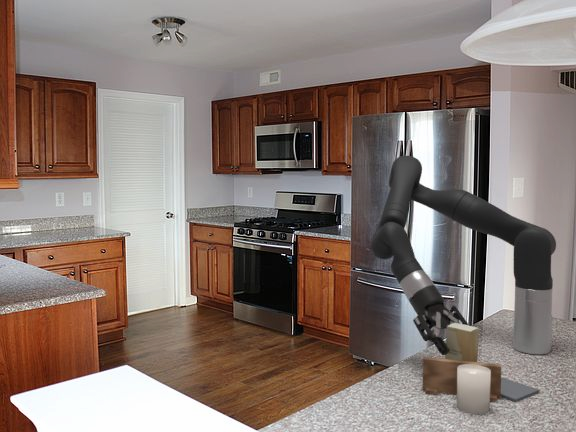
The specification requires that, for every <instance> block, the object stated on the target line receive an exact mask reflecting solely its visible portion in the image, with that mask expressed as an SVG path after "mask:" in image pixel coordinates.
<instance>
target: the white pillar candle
mask: <svg viewBox="0 0 576 432" xmlns="http://www.w3.org/2000/svg"><path fill="white" fill-rule="evenodd" d="M490 380H491V370H490V369H489V368H487V367H484V366H481V365H476V364H463V365H459V366H458V367H457V394H456V408H457V409H458V410H459V411H460V412H462V413H466V414H470V415H476V416H478V415H479V416H480V415H486V414H488V413H489V412H490V411H491V410H490V409H491V408H490V407H491V402H490Z"/></svg>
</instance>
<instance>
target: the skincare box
mask: <svg viewBox="0 0 576 432" xmlns="http://www.w3.org/2000/svg"><path fill="white" fill-rule="evenodd" d="M459 323H460V322H459ZM459 323H453V324H451V323H450V325H448V326H447V329H446V333H445V334H446V336H445V344H446V345H447V347H448V348H449V350H450V351H449V353H447V354H446V355H444V356H445V357H444V359H448V360H458V361H468V362H478V355H479V354H478V353H479V352H478V351H479V337H480V334H479V333H480V327H475V326H472V325H469V324H468V325H464V324H462V323H460V324H459Z"/></svg>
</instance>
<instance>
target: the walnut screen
mask: <svg viewBox="0 0 576 432" xmlns="http://www.w3.org/2000/svg"><path fill="white" fill-rule="evenodd" d="M463 364H476V365H481V366H484V367H487V368H489V369H490V370H491V380H490V403H491V402H492V403H498V400H501V398H502V397H501V378H502V365H501V364H498V363H497V364H495V363H486V362H478V361H477V362H468V361H458V360H448V359H445V358H436V357H426V356H423V358H422V391H424V392H425V395H432V396H433V395H434V396H438V393H443V394H450V395H457V367H458V366H459V365H463Z"/></svg>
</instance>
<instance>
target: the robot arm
mask: <svg viewBox="0 0 576 432" xmlns="http://www.w3.org/2000/svg"><path fill="white" fill-rule="evenodd" d="M422 173H423V164H422V163H421V162H420V160H419V159H418V158H417V157H415V156H412V155H401V156H398V157H396V158H395V159H394V160H393V163H392V165H391V169H390V174H389V179H388V186H389V192H388V195H387V198H386V201H385V204H384V207H383V210H382V213H381V216H380V217H381V218H380V222H379V224H378V226H377V228H376V230H375V231H374V234H373V235H372V237H371V242H370V248H371V251H372V254H373V255H374V256H376V258H377V259H380V260H389V259H391V258H392V261H391V265H390V271H391V272H392V274H393V276H394V278H395V279H396V281H397V282H398V284H399V286H400V288H401V289H402V292H403V294H404V296H405V297H406V298H407V301H408V303H410V305H411V307H412V308H413V311H414V312H415V313H416V314H417V315H416V316H415V317H414V319H412V323H414V325H415V328H416V329H417V330H418V332H419V335H420V336H421V338H422V341H425V342H427V341H430V342H431V343H433V344H434V346H435V348H436V350H437V351H438V352H439V353H440V354H441V355H442V356H445V355H446V354H447V353H449V351H450V350H449V348H448V347H447V345H446V341H444V339H443V338H442V336H441V333H440V330H445V329H446V330H447V326H448V325H450V324H453V323H459V324H464V325H469V323H468V322H467V319H465V318H464V317H465V316H463V314H462V313H461V312H460V311H459V309H458V308H457V306H456V305H452V306H451V307H450V308H447V307H446V306H445V305H444V302H445V299H444V297H443V296H442V294H441V292H440V291H439V289H438V288H437V287H436V285H435V283H434V282H433V280H432V279H431V278H430V276H429V275H428V274H427V273H426V271H425V270H424V269H423V267H422V265H421V264H420V263H419V261H418V260H417V258H416V255H415V252H414V249H413V247H412V243H411V240H410V237H409V235H408V233H407V231H406V230H405V227H406V225H407V222H408V217H409V213H410V207H411V201H413V202H416V203H418V204H421V205H423V206H426V207H427V208H429V209H431V210H433V211H436V212H437V213H440V214H442V215H443V216H446V217H447V218H449V219H451V220H452V221H454V222H455V223H457V224H460V225H461V226H464V227H465V228H468V229H470V230H473V231H476V232H478V233H479V232H480V233H482V234H485V235H488V236H492V237H495V238H498V239H500V240H502V241H504V242H506V243H508V244H509V245H511V246H512V247H513V277H514V283H515V284H514V311H513V315H514V316H513V340H512V341H513V342H512V346H513V349H514V350H516V351H518V352H521V353H525V354H529V355H546V354H550V352H551V349H552V336H553V334H552V333H553V315H552V312H553V311H552V310H553V306H552V305H553V285H554V283H553V281H554V279H553V277H552V255H553V254H554V253H555V251H556V249H557V241H556V239H555V236H554V234H552V233H551V232H550V230H548V229H546V228H544V227H541V226H539V225H536V224H534V223H530V222H527V221H525V220H523V219H521V218H518V217H516V216H513V215H511V214H509V213H508V212H505V211H504V210H503V209H501V208H499V207H497V206H496V205H495V204H492V203H490V202H488V201H486V200H485V199H483V198H481V197H479V196H477V195H476V194H474V193H471V192H469V191H466V190H464V189H459V188H458V189H457V188H456V189H443V190H442V189H441V190H439V189H437V190H436V189H432V188H429V187H427V186H425V185H423V184H422V183H421V177H422ZM460 322H461V323H460Z"/></svg>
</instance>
